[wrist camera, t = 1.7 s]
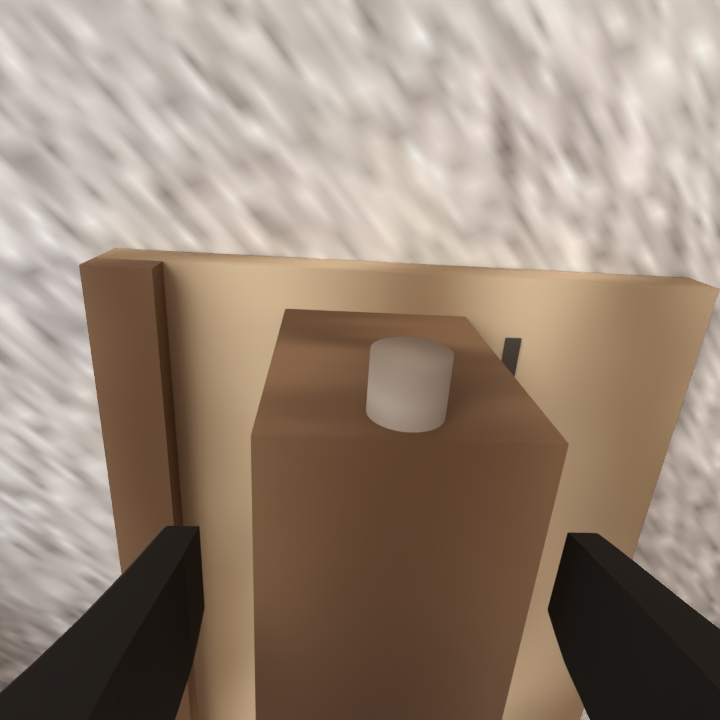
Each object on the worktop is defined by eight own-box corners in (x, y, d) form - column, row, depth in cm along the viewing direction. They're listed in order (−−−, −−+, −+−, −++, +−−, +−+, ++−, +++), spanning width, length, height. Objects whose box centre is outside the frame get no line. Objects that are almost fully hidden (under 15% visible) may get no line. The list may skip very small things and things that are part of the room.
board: (183, 865, 23) (161, 972, 20) (114, 248, 13) (51, 277, 10) (515, 854, 24) (541, 953, 21) (688, 278, 14) (784, 312, 11)
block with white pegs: (282, 593, 16) (257, 833, 10) (285, 267, 12) (250, 367, 7) (425, 594, 16) (475, 826, 11) (470, 276, 12) (584, 378, 7)
